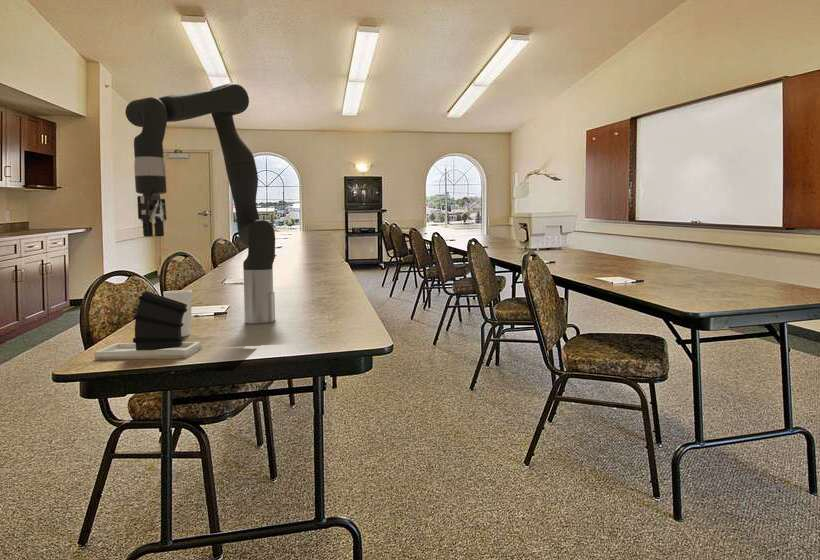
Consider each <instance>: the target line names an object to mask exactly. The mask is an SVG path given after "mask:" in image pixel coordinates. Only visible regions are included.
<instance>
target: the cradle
mask: <svg viewBox="0 0 820 560" xmlns="http://www.w3.org/2000/svg"><path fill="white" fill-rule="evenodd" d="M200 348H201V349H202V342H201V341H182V345H181V346H180V347H176V348H167V349H159V350H136V343H133V342H124V343H123V342H120V343H119V342H117V343H114V344H111V345H108V346H106V347H103V348H101V349H98V350H96V351H94V361H106V360H107V361H109V360H110V361H113V360H117V361H119V360H157V359H158V360H161V359H163V360H165V359H166V360H167V359H188V358H190V356H192V355H195V353H197V352H199V351H200V350H201V349H200ZM199 349H200V350H199ZM198 350H199V351H198Z"/></svg>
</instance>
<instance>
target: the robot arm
mask: <svg viewBox="0 0 820 560" xmlns="http://www.w3.org/2000/svg"><path fill="white" fill-rule="evenodd" d="M249 104H250V97H249V94H248V92H247V90H246V89H245V87H243V86H242V85H240V84H239V83H235V82H233V83H225V84H222V85H219V86H215V87H213V88H211V89H210V90H207V91H199V92H187V93H185V92H184V93H177V94H169V95H166V96H165V95H164V96H162V97H154V96H153V97H152V96H151V97H150V96H149V97H144V98H140V99H134V100H132V101H130V102H128V104H127V105H126V107H125V117H126V119H127V121H128V122H129V123H130V124H132V125H133V126H135V127H139V128H142V130H141V132H140V133H139V134H138V135H136V136H135V137H134V139H133V149H134V150H133V151H134V152H133V153H134V154H133V155H134V164H133V165H134V167H133V168H134V182H135V184H134V185H135V192H136V193H137V194H139V195H138V196H137V217H138V220H140V221H141V222H142V232H143V236H144V237H147V238H148V237H150V238H151V237H153V236H154V235H155V237H157V238H158V237H165V229H164V223H165V221H167V220H168V217H167V209H166V207H167V206H166V199H165V198H161V195H163V194H164V195H165V194H167V192H168V191H167V178H166V177H167V175H166V164H165V160H164V146H163V142H164V139H165V135H166V130H167V129H166V128H167V123H173V122H175V123H176V122H181V121H186V120H192V119H196V118H198V117H202V116H206V115H211V117H212V120H213V123H214V126H215V129H216V132H217V136H218V140H219V144H220V148H221V152H222V156H223V161H224V166H225V169H226V170H225V171H226V175H227V180H228V183H229V186H230V191H231V192H230V193H231V197H232V200H233V204H234V210H235V217H236V226H237V227H236V228H237V232H238V238H239V241H240V243H242V245H244V247H246V248H247V251H248V252H247V256H246V258H245V259H244V260H243V263H242V264H243V265H242V267H243V271H242V273H243V302H244V303H243V304H244V305H243V306H244V307H243V308H244V323H245V324H268V323H269V324H270V323H274V321H275V320H276V304H275V303H276V299H275V297H276V296H275V295H276V294H275V291H274V275H273V271H274V270H273V267H274V262H275V259H276V257H275V256H276V234H275V233H276V232H275V229H274V227H273V224H271V222H269V221H268V220H265V219H261V218H260V215H259V212H258V207H257V194H258V193H257V192H258V184H259V175H258V170H257V165H256V164H257V163H256V161H255V157H254V154H253V153H252V151H251V149H250V148H249V147H248V146H247V145H246V143H245V142H244V141H243V139H242V138H241V137H240V135H239V133H238V131H237V129H236V125H235V122H234V116H236V115H237V116H238V115H239V114H241V113H244V112H245V111H246V110H248V107H249ZM141 194H142V195H141ZM153 222H154V224H153ZM153 226H154V228H153ZM153 230H154V231H153Z"/></svg>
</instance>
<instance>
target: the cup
mask: <svg viewBox="0 0 820 560" xmlns="http://www.w3.org/2000/svg"><path fill="white" fill-rule="evenodd" d="M193 292H194V291H193V290H188V289H184V290H183V289H182V290H178V289H176V290H167V291H163V292H162V294H163V297H166V298H169V299H172V300H175V301H178V302H181V303H184V304H187V307H186V309H187V312H185V313H184V315H183V318H182V323H183V326H182V327H181V336H183V337H186V336H190V335H191V334H192V302H193V301H192V296H193Z"/></svg>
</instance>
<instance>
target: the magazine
mask: <svg viewBox="0 0 820 560" xmlns="http://www.w3.org/2000/svg"><path fill="white" fill-rule="evenodd" d="M137 299H138V300H139V301H138V305H137V307H136V308H137V310H136V314H134V315H133V320H135V323H134V337H133V338H132V343H136V350H159V349H167V348H176V347H180V346H181V345H182V342H183V340H184V336H181V327H182V326H183V323H182V318H183V315H184V313H185V312H187V309H186V307H187V304H184V303H181V302H178V301H175V300H172V299H169V298H166V297H164V296H162V295H159V294H155V293H153V292H150V291H147V290H146V291H142V293H141V295H138V298H137Z"/></svg>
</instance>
